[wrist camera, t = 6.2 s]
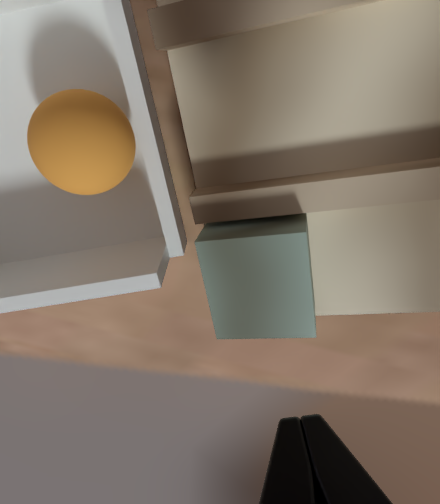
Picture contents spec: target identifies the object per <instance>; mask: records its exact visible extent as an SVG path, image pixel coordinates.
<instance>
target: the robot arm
mask: <svg viewBox="0 0 440 504" xmlns="http://www.w3.org/2000/svg"><path fill="white" fill-rule="evenodd" d="M259 504H392V502H391V501H390V500H389V499H388V497H387V496H386V495H385V494H384V492H383V491H382V490H381V489H380V487H379V486H378V485H377V484H376V483H375V481H374V480H373V479H372V478H371V476H369V474H368V473H367V471H366V470H365V469H364V468H363V467H362V465H361V464H360V463H359V462H358V460H357V459H356V458H355V457H354V455H353V454H352V453H351V452H350V451H349V449H348V448H347V447H346V446H345V444H344V443H343V442H342V441H341V439H340V438H339V437H338V436H337V435H336V433H335V432H334V431H333V430H332V429H331V427H330V426H329V425H328V423H327V422H326V421H325V420H324V418H322V416H321V415H319V414H314V415H305V416H302V417H301V419H299V418H298V417H289V418H283V419H281V420H280V421H279V424H278V428H277V432H276V437H275V440H274V445H273V448H272V453H271V457H270V461H269V465H268V469H267V473H266V477H265V481H264V485H263V489H262V493H261V497H260V502H259Z"/></svg>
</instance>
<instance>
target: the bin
mask: <svg viewBox="0 0 440 504" xmlns="http://www.w3.org/2000/svg"><path fill="white" fill-rule="evenodd" d="M68 89H84V90H90V91H93V92H96V93H99V94H101V95H103V96H105V97H107V98H108V99H110V100H111V101H112V102H114V103H115V104H116V105H117V106H118V107H119V108H120V109H121V110H122V111H123V113H124V114H125V115H126V117H127V119H128V120H129V122H130V124H131V126H132V129H133V132H134V136H135V143H136V151H135V158H134V162H133V165H132V167H131V169H130V171H129V173H128V174H127V176H126V177H125V178H124V179H123V180H122V181H121V182H120V183H119V184H118V185H116V186H115V187H114V188H112V189H110V190H108V191H105V192H102V193H99V194H94V195H79V194H74V193H70V192H67V191H65V190H62V189H60V188H58V187H57V186H55V185H53V184H52V183H51V182H49V181H48V180H47V179H46V178H45V177H44V176H43V175H42V174H41V173H40V171H39V170H38V169H37V167H36V166H35V164H34V162H33V160H32V158H31V156H30V152H29V149H28V143H27V131H28V125H29V121H30V119H31V116H32V114H33V113H34V111H35V109H36V108H37V107H38V106H39V104H40V103H41V102H42V101H44V100H45V99H46V98H47V97H49V96H51V95H52V94H55V93H57V92H59V91H63V90H68ZM186 244H187V239H186V235H185V230H184V226H183V222H182V218H181V214H180V210H179V205H178V201H177V197H176V193H175V189H174V184H173V180H172V176H171V172H170V168H169V163H168V159H167V155H166V151H165V147H164V143H163V138H162V134H161V130H160V126H159V122H158V117H157V113H156V109H155V105H154V101H153V96H152V92H151V88H150V84H149V80H148V76H147V71H146V67H145V63H144V59H143V55H142V50H141V46H140V42H139V38H138V34H137V29H136V25H135V21H134V17H133V13H132V8H131V4H130V0H0V313H5V312H11V311H18V310H24V309H30V308H37V307H43V306H49V305H55V304H62V303H68V302H74V301H81V300H87V299H93V298H100V297H106V296H112V295H119V294H125V293H131V292H137V291H144V290H150V289H156V288H161V286H162V282H163V279H164V276H165V272H166V269H167V266H168V262H169V259H170V258H171V257H177V256H183V255H184V253H185V248H186Z"/></svg>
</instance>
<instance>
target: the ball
mask: <svg viewBox="0 0 440 504" xmlns="http://www.w3.org/2000/svg"><path fill="white" fill-rule="evenodd" d="M27 143H28V149H29V152H30V156H31V158H32V160H33V162H34V164H35V166H36V167H37V169H38V170H39V171H40V173H41V174H42V175H43V176H44V177H45V178H46V179H47V180H48V181H49V182H51V183H52V184H53V185H55V186H57V187H58V188H60V189H62V190H65V191H67V192H70V193H74V194H79V195H94V194H99V193H102V192H105V191H108V190H110V189H112V188H114V187H115V186H116V185H118V184H119V183H120V182H121V181H122V180H123V179H124V178H125V177H126V176H127V174H128V173H129V171H130V169H131V167H132V165H133V162H134V158H135V151H136V143H135V136H134V132H133V129H132V126H131V124H130V122H129V120H128V119H127V117H126V115H125V114H124V113H123V111H122V110H121V109H120V108H119V107H118V106H117V105H116V104H115V103H114V102H112V101H111V100H110V99H108V98H107V97H105V96H103V95H101V94H99V93H96V92H93V91H90V90H84V89H68V90H63V91H59V92H57V93H55V94H52V95H51V96H49V97H47V98H46V99H45V100H44V101H42V102H41V103H40V104H39V106H38V107H37V108H36V109H35V111H34V113H33V114H32V116H31V119H30V121H29V125H28V131H27Z"/></svg>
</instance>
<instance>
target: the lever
mask: <svg viewBox="0 0 440 504" xmlns="http://www.w3.org/2000/svg"><path fill="white" fill-rule="evenodd" d="M156 2H157V6H158V7H156V8H152V9H148V10H147V12H148V17H149V21H150V26H151V30H152V34H153V39H154V43H155V48H156V50H164V51H167V53H168V58H169V62H170V67H171V72H172V76H173V81H174V86H175V90H176V95H177V100H178V104H179V109H180V114H181V119H182V123H183V128H184V133H185V137H186V142H187V147H188V151H189V156H190V161H191V165H192V170H193V175H194V179H195V184H196V190H195V191H194V192H193V193H192V194H191V195H190V197H189V199H190V204H191V208H192V213H193V217H194V222H195V224H203V223H204V228H203V229H202V231H201V233H200V234H199V236H198V237H197V239H196V241H195V246H196V250H197V255H198V259H199V263H200V268H201V272H202V276H203V281H204V285H205V289H206V294H207V298H208V303H209V307H210V311H211V316H212V320H213V324H214V329H215V333H216V337H217V339H256V338H314V337H316V319H315V316H317V315H348V314H379V313H411V312H440V0H156Z"/></svg>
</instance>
